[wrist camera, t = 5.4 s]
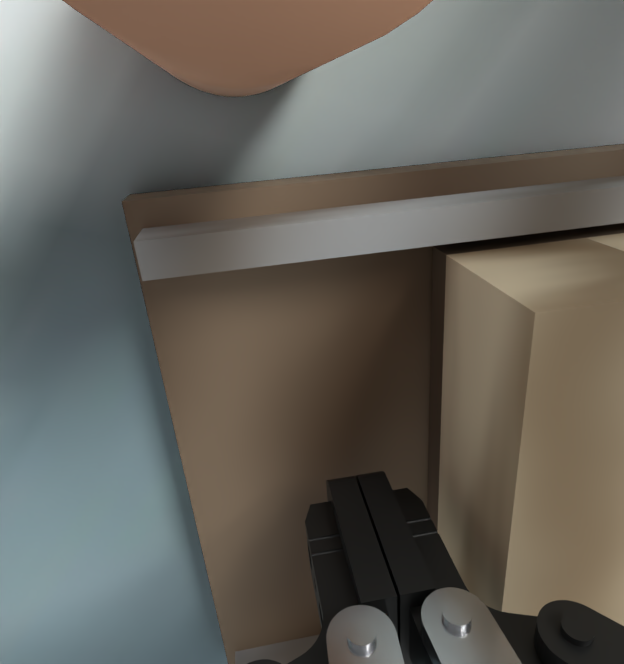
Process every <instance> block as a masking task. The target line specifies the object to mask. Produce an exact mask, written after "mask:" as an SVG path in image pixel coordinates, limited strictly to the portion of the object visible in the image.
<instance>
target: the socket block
mask: <svg viewBox="0 0 624 664" xmlns="http://www.w3.org/2000/svg"><path fill="white" fill-rule="evenodd" d="M427 511H428V513H429V515H430V517H431V520H432V521H433V523H434V525H435V527H436V529H437V532H438V534H439V535H440V537H441V539H442V541H443V543H444V545H445V547H446V549H447V551H448V553H449V555H450V557H451V559H452V561H453V563H454V564H455V566H456V568H457V570H458V572H459V574H460V576H461V578H462V580H463V582H464V584H465V586H466V588H467V589H468V590H469V592H470V593H472V594H474V595H475V596H477V597H478V598H479V599H480V600H481V601H482V602H483V603H484V604H485V605H487V606H488V607H491V608H493V609H495V610H498V611H502V612H507V613H514V614H523V615H531V616H538V614H539V611H540V610H541V608H542V607H543V606H544V605H546V604H547V603H549V602H552V601H556V600H569V601H574V602H577V603H580V604H583V605H585V606H587V607H589V608H591V609H593V610H595V611H597V612H598V613H600V614H602V615H604V616H606V617H608V618H610V619H611V620H613V621H615V622H617V623H619V624H621V625H623V626H624V223H619V224H611V225H603V226H595V227H587V228H578V229H570V230H562V231H554V232H545V233H537V234H529V235H521V236H512V237H504V238H496V239H488V240H480V241H471V242H463V243H455V244H447V245H438V246H433V258H432V306H431V355H430V403H429V452H428V500H427Z"/></svg>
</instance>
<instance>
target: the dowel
mask: <svg viewBox="0 0 624 664" xmlns="http://www.w3.org/2000/svg"><path fill="white" fill-rule="evenodd" d="M63 1H64V2H66V3H67V4H68V5H70V6H71V7H72V8H74V9H75V10H76V11H78V12H79V13H81V14H82V15H84V16H85V17H87V18H88V19H90V20H91V21H93V22H94V23H96V24H97V25H99V26H100V27H102V28H103V29H105V30H106V31H107V32H109V33H110V34H112V35H113V36H115V37H116V38H118V39H119V40H121V41H122V42H124V43H125V44H127V45H128V46H130V47H131V48H133V49H134V50H136V51H137V52H138V53H140V54H141V55H143V56H144V57H146V58H147V59H149V60H150V61H152V62H153V63H155V64H156V65H158V66H159V67H161V68H162V69H164V70H165V71H167V72H168V73H169V74H171V75H172V76H174V77H175V78H177V79H179V80H180V81H182V82H184V83H185V84H187V85H189V86H191V87H193V88H196V89H198V90H201V91H203V92H207V93H210V94H214V95H219V96H227V97H244V96H250V95H256V94H259V93H263V92H266V91H269V90H271V89H273V88H275V87H277V86H279V85H281V84H283V83H286V82H288V81H290V80H292V79H294V78H296V77H298V76H300V75H302V74H305V73H307V72H309V71H311V70H313V69H315V68H317V67H319V66H321V65H323V64H326V63H328V62H330V61H332V60H334V59H336V58H338V57H340V56H342V55H344V54H347V53H349V52H351V51H353V50H355V49H357V48H359V47H361V46H363V45H365V44H367V43H370V42H372V41H374V40H376V39H378V38H380V37H382V36H384V35H386V34H387V33H389V32H390V31H392V30H393V29H395V28H396V27H398V26H399V25H401V24H402V23H404V22H406V21H407V20H409V19H410V18H412V17H413V16H415V15H416V14H418V13H419V12H420V11H421V10H422V9H423V8H425V7H426V6H427V5H428V4H429V3H430V2H431V1H433V0H63Z"/></svg>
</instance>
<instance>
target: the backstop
mask: <svg viewBox="0 0 624 664" xmlns="http://www.w3.org/2000/svg"><path fill="white" fill-rule="evenodd" d="M122 205H123V210H124V214H125V218H126V223H127V227H128V231H129V236H130V240H131V244H132V249H133V253H134V257H135V262H136V266H137V270H138V275H139V279H140V283H141V288H142V292H143V296H144V301H145V305H146V309H147V314H148V318H149V322H150V327H151V331H152V335H153V340H154V344H155V348H156V353H157V357H158V361H159V366H160V370H161V374H162V379H163V383H164V387H165V392H166V396H167V400H168V405H169V409H170V413H171V418H172V422H173V426H174V431H175V435H176V439H177V444H178V448H179V452H180V457H181V461H182V465H183V470H184V474H185V478H186V483H187V487H188V491H189V496H190V500H191V504H192V509H193V513H194V517H195V522H196V526H197V530H198V535H199V539H200V543H201V548H202V552H203V556H204V561H205V565H206V569H207V574H208V578H209V583H210V587H211V591H212V596H213V600H214V604H215V609H216V613H217V617H218V622H219V626H220V630H221V635H222V639H223V643H224V648H225V652H226V656H227V661H228V664H248V663H249V662H252V661H255V660H261V659H269V660H274V661H277V662H279V663H281V664H288V663H289V662H291V661H293V660H294V659H296V658H298V657H299V656H301V655H302V654H304V653H305V652H307V651H308V650H309V649H310V648H311V647H312V645H313V644H314V643H315V642H316V640H317V638H318V637H319V634H320V632H321V623H320V618H319V612H318V607H317V601H316V596H315V591H314V585H313V580H312V574H311V569H310V563H309V553H308V544H307V535H306V526H305V520H306V517H307V513H308V510H309V507H310V505H311V504H316V503H322V502H328V500H327V488H326V481H327V480H331V479H337V478H343V477H349V476H356V475H360V474H366V473H372V472H378V471H384V472H385V474H386V476H387V478H388V481H389V483H390V485H391V488H392V490H397V489H403V488H408V489H409V490H411V491H412V492H413V493H414V494H415V495H416V496H418V497H419V498H420V499H421V500H422V501H423V503H424V505H425V507H426V509H427V500H428V452H429V403H430V355H431V306H432V258H433V246H438V245H447V244H455V243H463V242H471V241H480V240H488V239H496V238H504V237H512V236H521V235H529V234H537V233H545V232H554V231H562V230H570V229H578V228H587V227H595V226H603V225H611V224H619V223H624V144H617V145H607V146H598V147H588V148H578V149H568V150H559V151H549V152H539V153H529V154H520V155H510V156H500V157H490V158H481V159H471V160H461V161H451V162H442V163H432V164H422V165H412V166H403V167H393V168H383V169H373V170H364V171H354V172H344V173H334V174H325V175H315V176H305V177H295V178H286V179H276V180H266V181H256V182H246V183H237V184H227V185H217V186H207V187H198V188H188V189H178V190H168V191H159V192H149V193H139V194H130V195H129V196H128V197H126V198H125V199H124V200H123V201H122Z"/></svg>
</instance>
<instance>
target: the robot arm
mask: <svg viewBox="0 0 624 664" xmlns="http://www.w3.org/2000/svg"><path fill="white" fill-rule="evenodd" d="M326 488H327V500H328V502H322V503H316V504H311V505H310V507H309V510H308V513H307V517H306V520H305V526H306V535H307V544H308V553H309V563H310V569H311V574H312V580H313V585H314V591H315V596H316V601H317V607H318V612H319V618H320V623H321V632H320V634H319V637H318V638H317V640H316V642H315V643H314V644H313V645H312V647H311V648H310V649H309V650H308V651H307V652H305V653H304V654H302V655H301V656H299V657H298V658H296V659H294V660H293V661H291V662H289V663H288V664H624V626H623V625H621V624H619V623H617V622H615V621H613V620H611V619H610V618H608V617H606V616H604V615H602V614H600V613H598V612H597V611H595V610H593V609H591V608H589V607H587V606H585V605H583V604H580V603H577V602H574V601H569V600H556V601H552V602H549V603H547V604H546V605H544V606H543V607H542V608H541V610H540V611H539V614H538V616H531V615H523V614H514V613H507V612H502V611H498V610H495V609H493V608H491V607H488V606H487V605H485V604H484V603H483V602H482V601H481V600H480V599H479V598H478V597H477V596H475V595H474V594H472V593H470V592H469V590H468V589H467V588H466V586H465V584H464V582H463V580H462V578H461V576H460V574H459V572H458V570H457V568H456V566H455V564H454V563H453V561H452V559H451V557H450V555H449V553H448V551H447V549H446V547H445V545H444V543H443V541H442V539H441V537H440V535H439V534H438V532H437V529H436V527H435V525H434V523H433V521H432V520H431V517H430V515H429V513H428V511H427V509H426V507H425V505H424V503H423V501H422V500H421V499H420V498H419V497H418V496H416V495H415V494H414V493H413V492H412V491H411V490H409V489H408V488H403V489H397V490H392V488H391V485H390V483H389V481H388V478H387V476H386V474H385V472H384V471H378V472H372V473H366V474H360V475H356V476H349V477H343V478H337V479H331V480H327V481H326ZM248 664H281V663H279V662H277V661H274V660H269V659H261V660H255V661H252V662H249V663H248Z"/></svg>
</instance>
